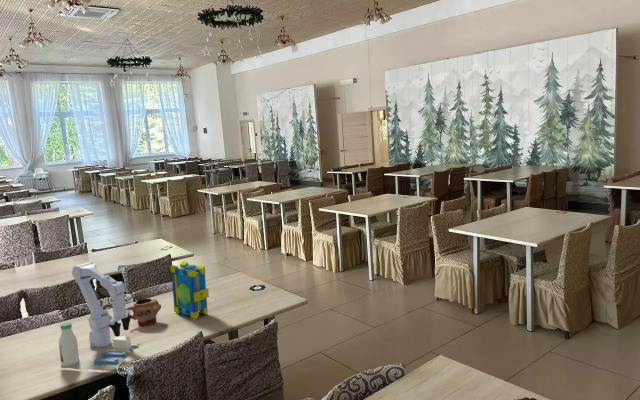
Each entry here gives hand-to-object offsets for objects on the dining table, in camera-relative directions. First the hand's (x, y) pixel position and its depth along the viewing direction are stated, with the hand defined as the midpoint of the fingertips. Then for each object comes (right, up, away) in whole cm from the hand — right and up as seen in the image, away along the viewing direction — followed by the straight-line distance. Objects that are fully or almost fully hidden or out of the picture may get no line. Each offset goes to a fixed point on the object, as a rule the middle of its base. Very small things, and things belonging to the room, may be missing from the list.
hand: (121, 333), depth 239 cm
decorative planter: (-2, -5, +35) cm, 35 cm away
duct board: (-1, -10, -3) cm, 11 cm away
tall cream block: (0, -9, +1) cm, 9 cm away
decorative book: (+21, -2, +49) cm, 53 cm away
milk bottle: (-20, -12, -10) cm, 26 cm away
